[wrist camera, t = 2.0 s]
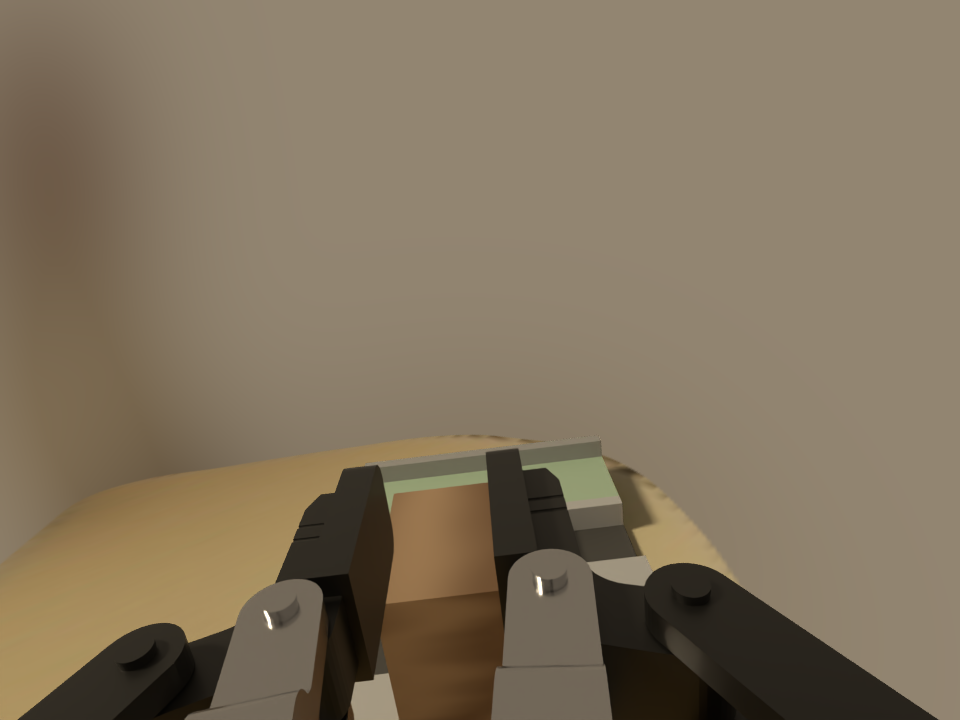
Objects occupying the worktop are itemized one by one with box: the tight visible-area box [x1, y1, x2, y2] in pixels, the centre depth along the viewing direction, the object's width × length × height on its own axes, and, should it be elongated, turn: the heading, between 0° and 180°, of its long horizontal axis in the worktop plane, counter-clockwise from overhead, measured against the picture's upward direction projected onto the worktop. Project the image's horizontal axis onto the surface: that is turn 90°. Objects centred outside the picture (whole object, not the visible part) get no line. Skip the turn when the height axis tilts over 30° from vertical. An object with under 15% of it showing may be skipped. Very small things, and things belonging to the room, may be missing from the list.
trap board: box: [351, 435, 653, 720], centre depth 39 cm, size 20×31×4 cm, turn 2°
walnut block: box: [381, 482, 504, 720], centre depth 26 cm, size 7×7×12 cm
